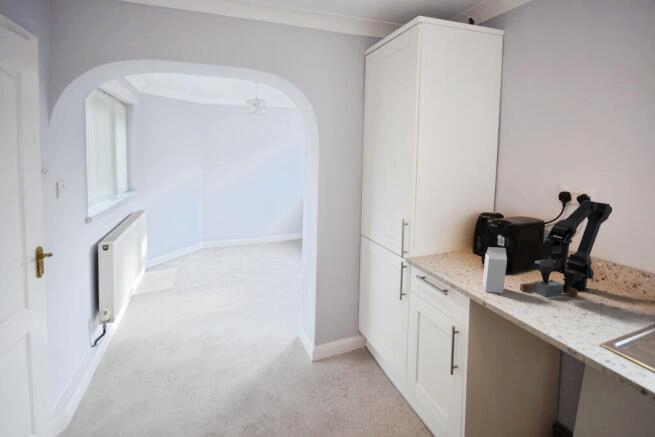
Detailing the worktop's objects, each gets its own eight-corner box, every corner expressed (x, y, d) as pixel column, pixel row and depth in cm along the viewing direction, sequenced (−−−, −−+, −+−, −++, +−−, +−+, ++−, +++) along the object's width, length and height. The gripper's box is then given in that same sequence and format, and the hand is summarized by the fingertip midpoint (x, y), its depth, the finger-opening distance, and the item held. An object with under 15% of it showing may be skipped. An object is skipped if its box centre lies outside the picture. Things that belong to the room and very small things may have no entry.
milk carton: (503, 293, 160) (508, 250, 156) (485, 291, 161) (489, 249, 157) (499, 287, 166) (503, 246, 163) (482, 285, 168) (486, 245, 164)
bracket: (545, 297, 156) (546, 286, 155) (533, 292, 161) (534, 281, 160) (561, 295, 158) (563, 284, 157) (549, 289, 164) (550, 279, 163)
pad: (545, 289, 165) (546, 288, 165) (564, 297, 157) (564, 296, 157) (530, 291, 162) (530, 291, 162) (548, 299, 154) (548, 299, 154)
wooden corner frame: (550, 285, 169) (551, 279, 168) (577, 296, 157) (578, 290, 157) (519, 290, 163) (520, 283, 163) (544, 302, 152) (545, 295, 151)
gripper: (526, 248, 161) (522, 283, 164) (565, 262, 144) (560, 300, 147) (546, 246, 165) (541, 280, 168) (586, 259, 147) (580, 296, 151)
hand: (554, 288), depth 158 cm, fingers open, 9 cm apart
